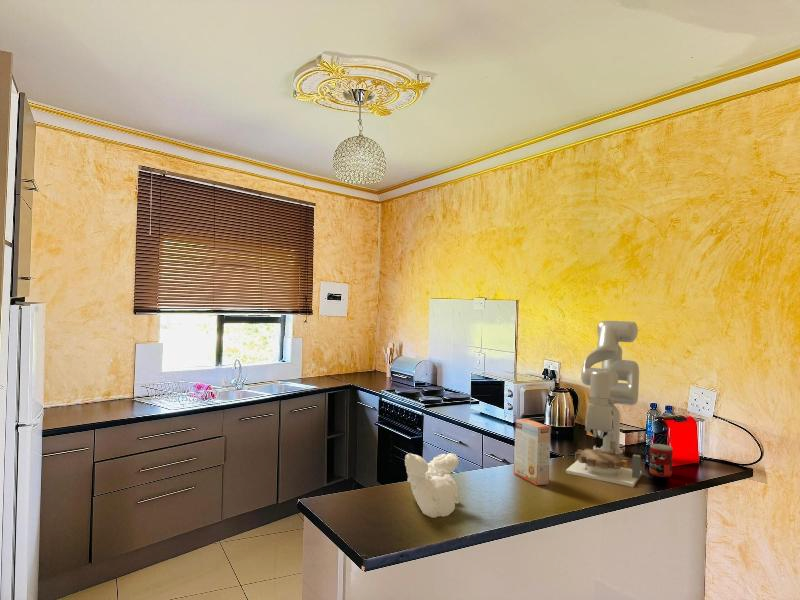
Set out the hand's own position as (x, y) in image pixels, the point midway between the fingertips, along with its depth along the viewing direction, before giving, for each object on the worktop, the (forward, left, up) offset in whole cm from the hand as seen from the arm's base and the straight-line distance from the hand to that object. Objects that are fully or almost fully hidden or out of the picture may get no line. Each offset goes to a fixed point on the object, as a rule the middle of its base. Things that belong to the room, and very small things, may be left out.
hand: (598, 447), depth 202 cm
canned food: (-10, +21, -9) cm, 25 cm away
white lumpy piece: (+76, -33, -9) cm, 84 cm away
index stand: (+5, +4, -9) cm, 11 cm away
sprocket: (+5, +2, -4) cm, 7 cm away
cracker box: (+31, -17, -9) cm, 37 cm away
